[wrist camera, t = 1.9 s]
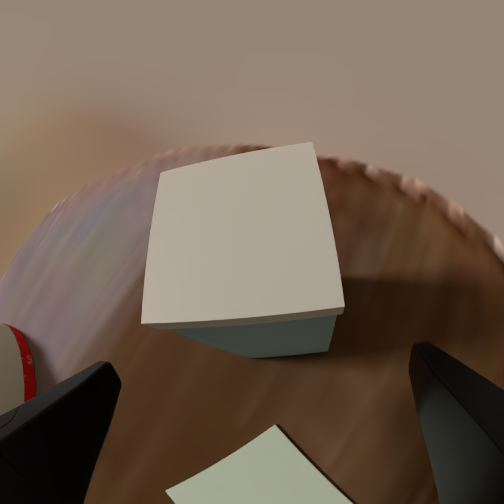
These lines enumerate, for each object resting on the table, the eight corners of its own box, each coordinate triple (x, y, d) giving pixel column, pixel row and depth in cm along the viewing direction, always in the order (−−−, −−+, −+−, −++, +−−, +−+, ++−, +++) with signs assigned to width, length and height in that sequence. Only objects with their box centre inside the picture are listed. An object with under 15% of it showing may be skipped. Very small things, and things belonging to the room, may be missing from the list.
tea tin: (329, 352, 17) (344, 306, 6) (248, 359, 18) (141, 323, 7) (320, 275, 19) (312, 141, 9) (245, 285, 20) (160, 172, 9)
